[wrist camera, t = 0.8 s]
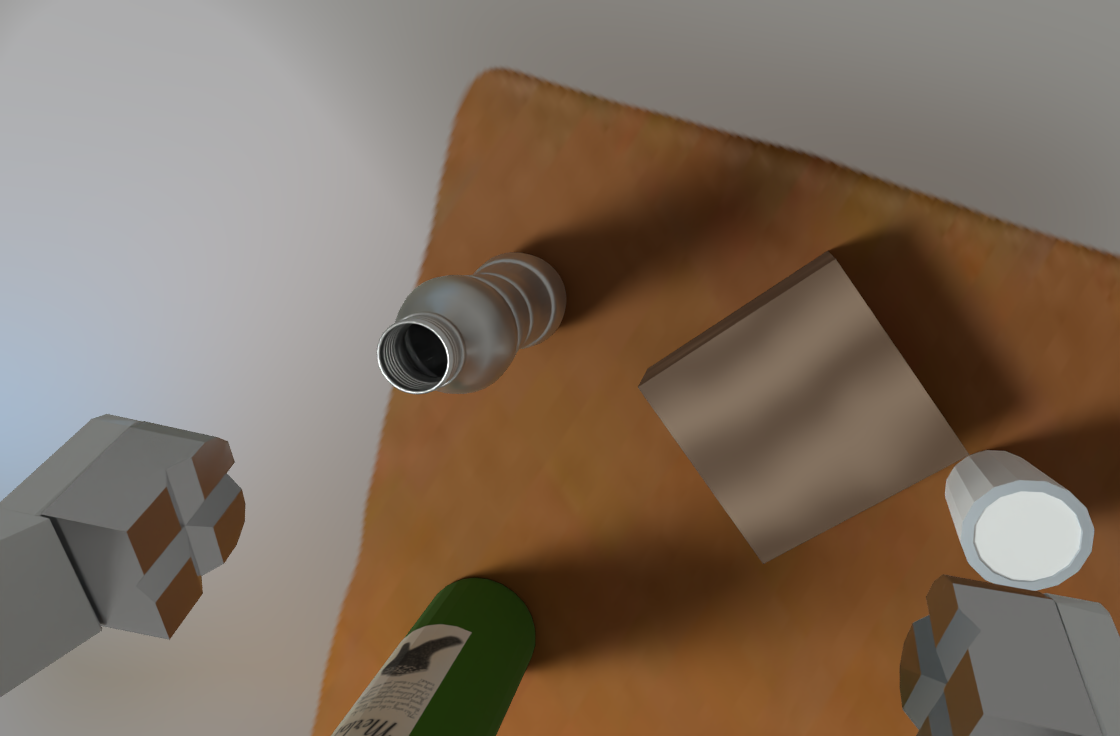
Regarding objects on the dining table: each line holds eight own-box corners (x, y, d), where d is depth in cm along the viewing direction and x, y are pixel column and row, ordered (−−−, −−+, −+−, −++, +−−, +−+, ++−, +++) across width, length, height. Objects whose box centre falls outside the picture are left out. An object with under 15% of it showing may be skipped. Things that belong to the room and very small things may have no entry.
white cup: (911, 500, 53) (934, 546, 46) (982, 419, 51) (1016, 457, 44) (1000, 559, 53) (1036, 614, 46) (1075, 480, 50) (1124, 527, 44)
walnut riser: (949, 428, 51) (969, 454, 47) (762, 530, 56) (763, 563, 51) (827, 250, 51) (835, 258, 46) (647, 368, 55) (637, 387, 50)
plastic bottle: (483, 243, 56) (346, 280, 37) (578, 254, 54) (485, 297, 35) (478, 333, 57) (344, 413, 38) (570, 345, 56) (477, 434, 37)
